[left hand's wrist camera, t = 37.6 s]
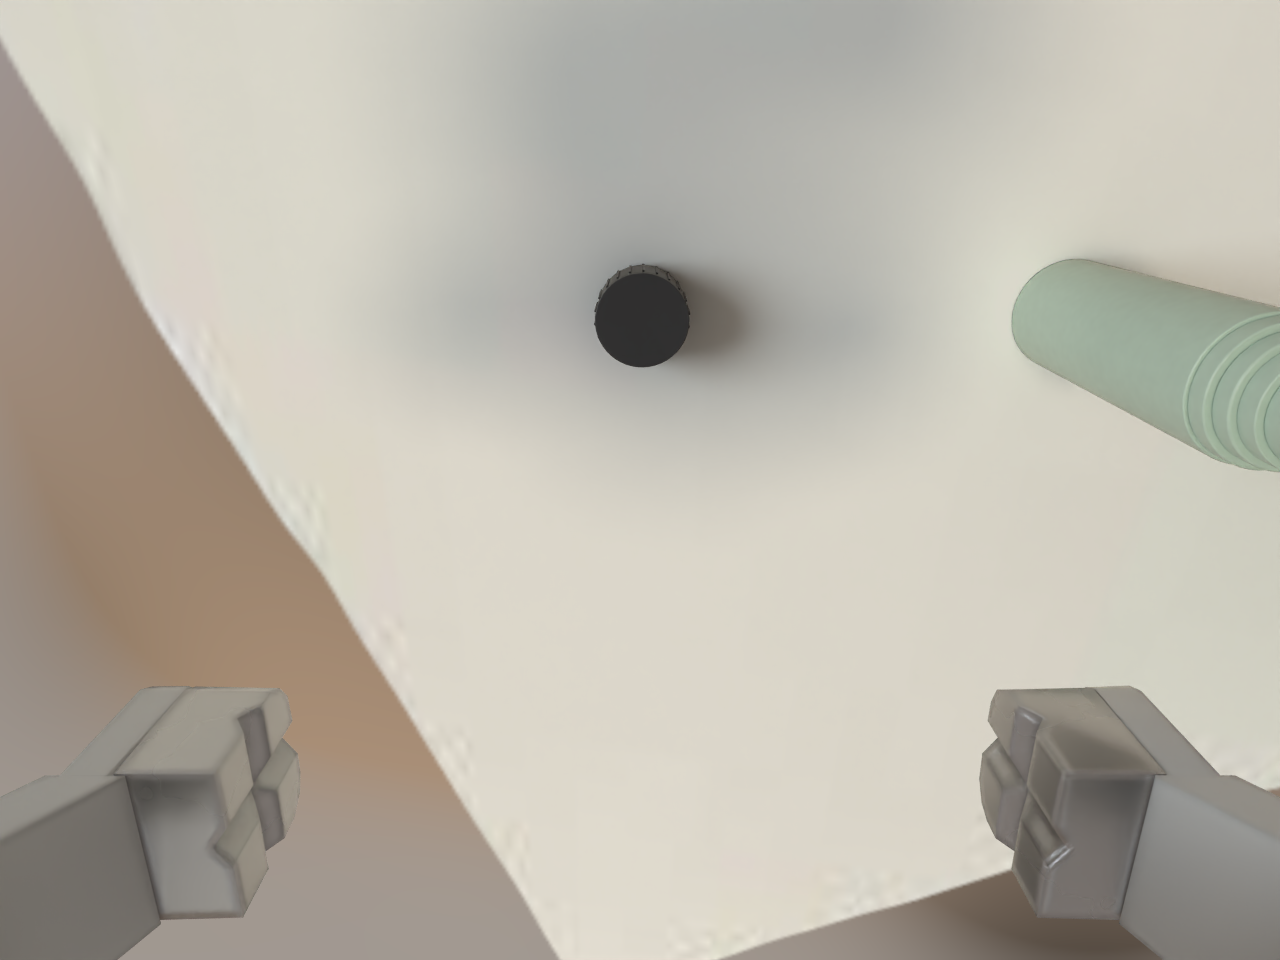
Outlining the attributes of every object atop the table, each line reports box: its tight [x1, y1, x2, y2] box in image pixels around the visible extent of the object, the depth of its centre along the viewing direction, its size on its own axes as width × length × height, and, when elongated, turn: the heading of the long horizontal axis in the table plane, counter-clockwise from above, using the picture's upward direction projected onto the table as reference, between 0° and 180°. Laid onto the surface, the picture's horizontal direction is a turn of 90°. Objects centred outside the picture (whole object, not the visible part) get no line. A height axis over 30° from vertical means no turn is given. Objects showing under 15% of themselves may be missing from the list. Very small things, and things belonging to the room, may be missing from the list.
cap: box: [594, 264, 690, 367], centre depth 36 cm, size 4×4×3 cm
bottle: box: [1012, 259, 1280, 472], centre depth 29 cm, size 5×5×19 cm
